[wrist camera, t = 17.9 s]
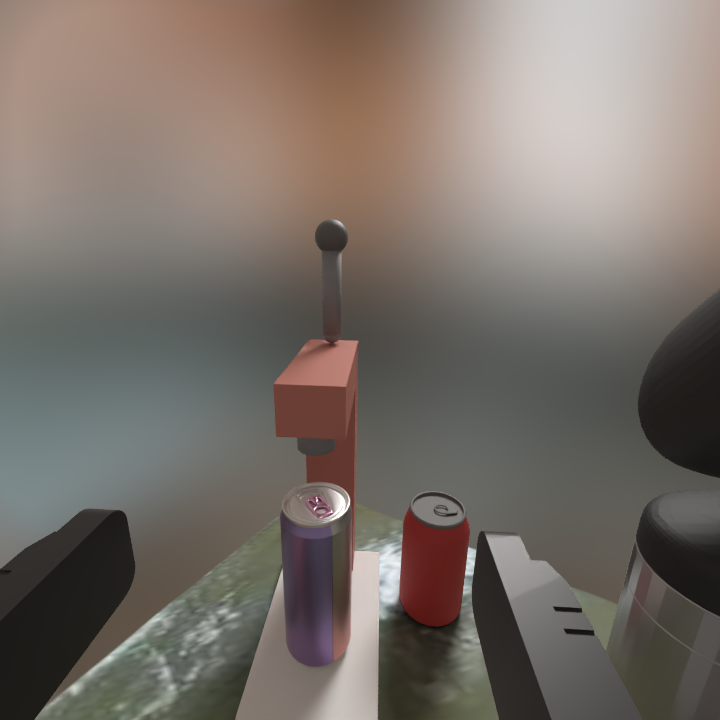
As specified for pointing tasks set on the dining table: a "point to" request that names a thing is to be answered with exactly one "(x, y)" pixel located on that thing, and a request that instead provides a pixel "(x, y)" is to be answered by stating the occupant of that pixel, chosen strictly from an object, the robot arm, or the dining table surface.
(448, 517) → the beer can
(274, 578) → the dining table surface
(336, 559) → the beverage can
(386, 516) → the dining table surface
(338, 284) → the bench press
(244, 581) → the dining table surface
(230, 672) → the dining table surface
